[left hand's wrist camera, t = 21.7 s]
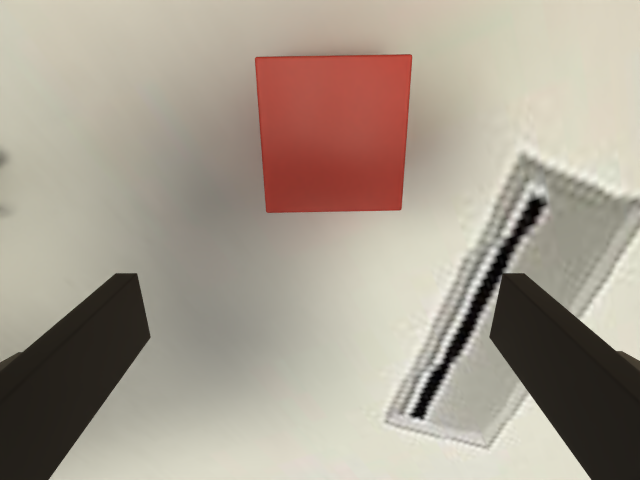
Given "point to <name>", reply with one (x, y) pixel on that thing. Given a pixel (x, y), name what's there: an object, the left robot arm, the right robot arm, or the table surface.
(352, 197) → the block
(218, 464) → the table surface
